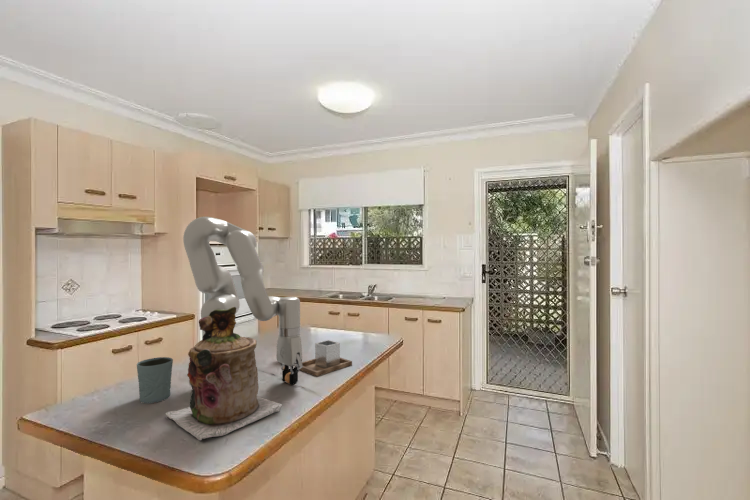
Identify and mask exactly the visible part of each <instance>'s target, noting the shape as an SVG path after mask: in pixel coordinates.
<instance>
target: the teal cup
mask: <svg viewBox="0 0 750 500" xmlns="http://www.w3.org/2000/svg"><path fill="white" fill-rule="evenodd" d="M173 363H174V359H173V358H172V357H166V356H164V357H163V356H161V357H151V358H148V359H143V360H141V361H139V362H137V364H136V369H137V381H138V392H139V401H141V402H144V403H143V404H154V402H156V403H160V402H162V400H163V401H165V400H167V399H169V398H170V396H171V387H172V375H173V374H172V371H173ZM168 397H169V398H168ZM159 401H160V402H159ZM141 402H140V403H141Z"/></svg>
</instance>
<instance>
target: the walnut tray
mask: <svg viewBox="0 0 750 500" xmlns="http://www.w3.org/2000/svg"><path fill="white" fill-rule="evenodd" d="M302 365H303V367H302V368H301V369H300V370H299V371H301V372H304V373H307V374H309V375H312V376H314V377H319V376H323V375H326V374H329V373H331V372H334V371H337V370H341V369H344V368H347V367H350V366H352V365H353V360H350V359H346V358H342V357H340V364H338V365H335V366H332V367H329V368H326V369H324V368H321V367H318V366H316V365H315V358H312V359H308V360H305V361H302Z"/></svg>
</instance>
